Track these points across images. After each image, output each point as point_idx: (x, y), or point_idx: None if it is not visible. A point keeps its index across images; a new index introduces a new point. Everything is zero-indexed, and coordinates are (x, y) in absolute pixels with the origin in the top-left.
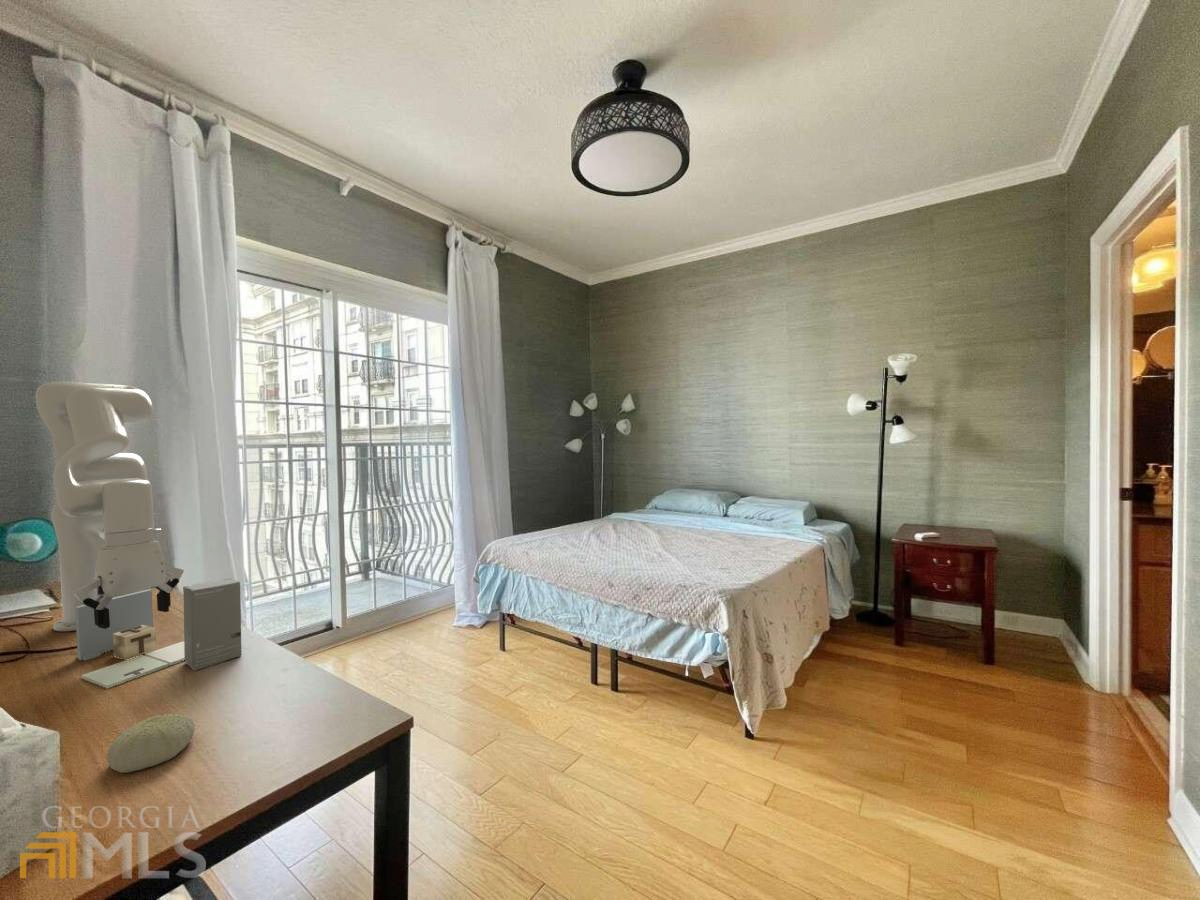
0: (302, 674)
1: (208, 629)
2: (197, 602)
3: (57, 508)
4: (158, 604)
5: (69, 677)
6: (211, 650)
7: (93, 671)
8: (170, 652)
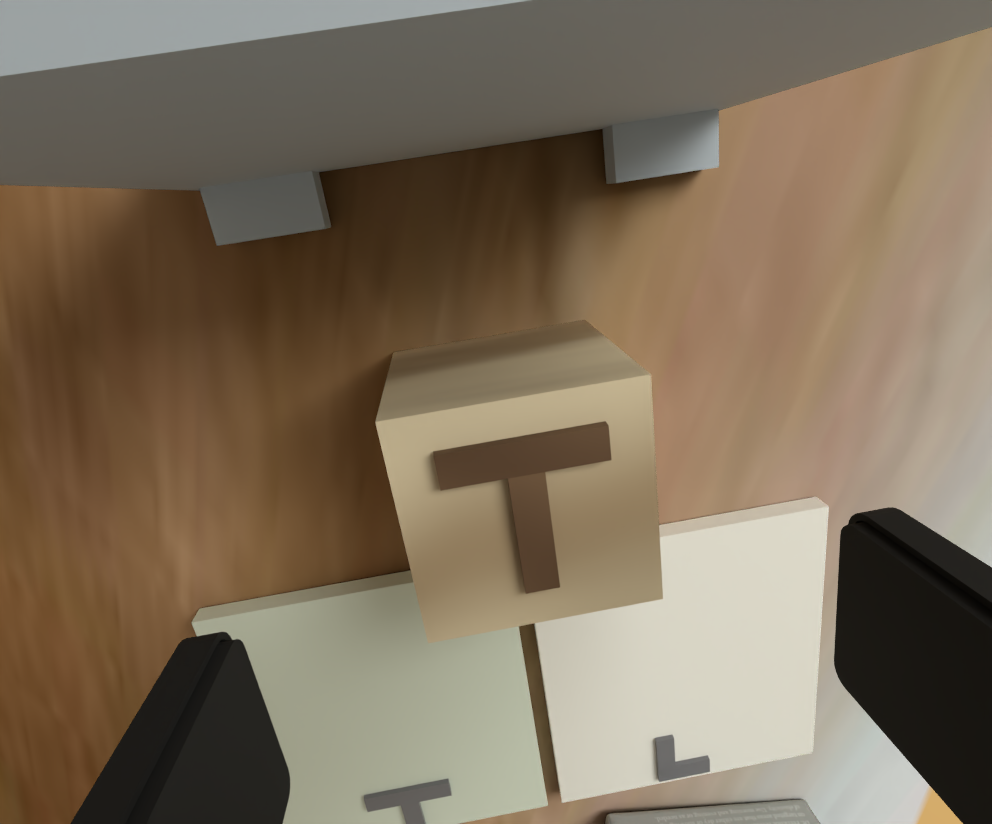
0: None
1: None
2: None
3: None
4: (911, 609)
5: (139, 527)
6: None
7: (250, 617)
8: (618, 660)
